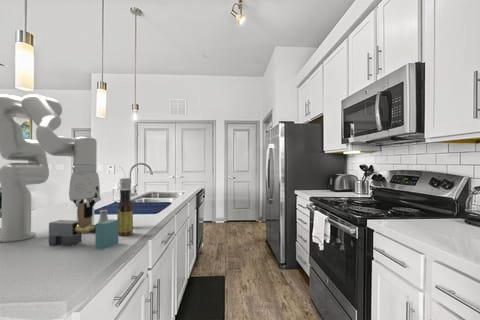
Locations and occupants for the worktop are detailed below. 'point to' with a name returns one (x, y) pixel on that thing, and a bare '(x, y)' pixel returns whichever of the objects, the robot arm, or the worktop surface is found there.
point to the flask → (103, 216)
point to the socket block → (106, 234)
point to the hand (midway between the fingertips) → (85, 216)
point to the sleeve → (63, 233)
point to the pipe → (124, 182)
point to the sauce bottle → (125, 213)
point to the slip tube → (83, 221)
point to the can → (92, 216)
